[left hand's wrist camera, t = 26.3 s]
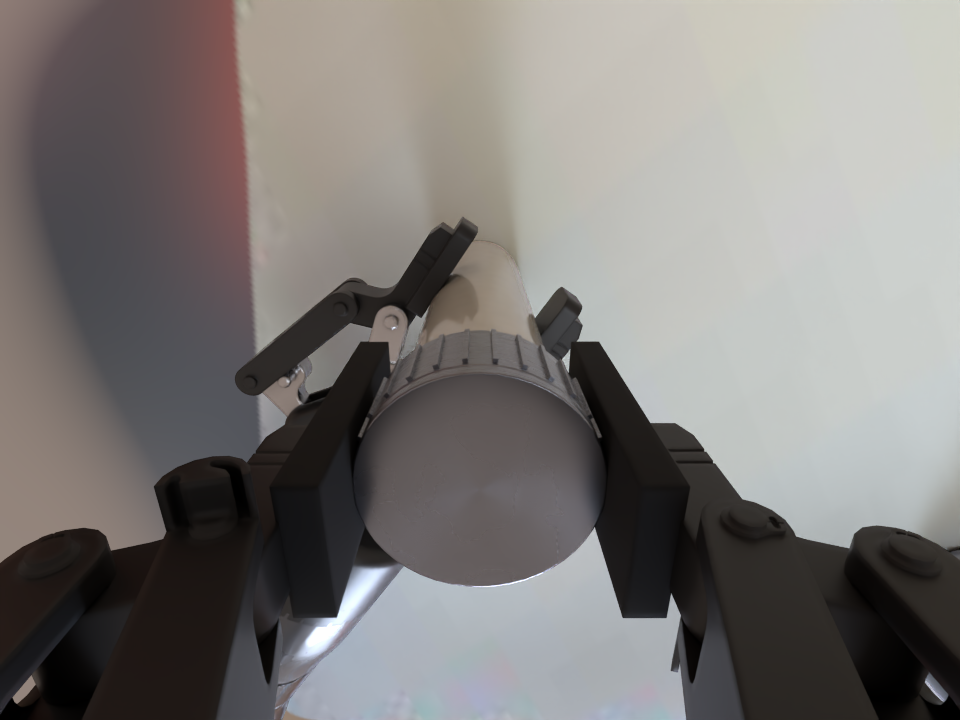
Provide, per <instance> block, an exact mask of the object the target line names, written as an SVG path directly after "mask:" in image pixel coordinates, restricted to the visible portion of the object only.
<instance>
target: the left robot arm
mask: <svg viewBox="0 0 960 720" xmlns="http://www.w3.org/2000/svg"><path fill="white" fill-rule="evenodd" d="M390 374H391V369H390V355H389V342H360V344H359V345H358V347H357V348H356V350H355V352H354V353H353V355H352V356H351V358H350V360H349V361H348V363H347V364H346V366H345V367H344V369H343V371H342V372H341V374H340V375H339V377H338V379H337V380H336V382H335V383H334V385H333V386H332V388H331V390H330V391H329V393H328V394H327V396H326V398H325V399H324V401H323V402H322V404H321V405H320V407H319V409H318V410H317V412H316V413H315V415H314V417H313V418H312V420H311V421H310V423H309V424H308V425H284V426H282V427H281V428H279V429H278V430H276V431H275V432H273V433H272V434H270V435H269V436H267V437H266V438H265V439H264V441H263V442H262V443H261V445H260V446H259V447H258V449H257V450H256V454H253V455H252V457H251V458H250V459H249V461H248V462H247V463H246V462H245V461H244V460H243V459H240V458H236V457H231V456H213V457H208V458H203V459H199V460H194V461H192V462H189V463H187V464H184V465H182V466H179V467H177V468H175V469H174V470H172V471H170V472H169V473H167V474H166V475H164V476H163V477H162V478H161V479H160V480H159V481H158V482H157V483H156V485H155V486H154V489H155V492H156V496H157V499H158V503H159V507H160V510H161V514H162V517H163V521H164V524H165V528H166V531H167V532H166V534H165V536H164V539H162V540H158V541H155V542H151V543H146V544H141V545H136V546H132V547H127V548H122V549H117V550H113V551H111V550H110V547H109V544H108V541H107V538H106V536H105V535H104V534H102V533H101V532H100V531H99V530H95V529H88V528H79V529H71V530H64V531H60V532H56V533H54V534H50V535H47V536H44V537H41V538H40V539H38V540H36V541H34V542H32V543H30V544H28V545H26V546H23V547H22V548H20V549H19V550H17V551H16V552H15V553H13V554H12V555H10V556H9V557H7V558H6V559H5V560H4V561H2V562H1V563H0V720H274V713H275V704H276V695H277V686H278V677H279V669H280V660H281V651H282V642H283V636H282V629H281V623H280V618H279V616H280V614H281V611H282V609H283V607H284V604H285V602H286V600H287V597H288V595H289V598H290V603H291V609H292V614H293V618H337V616H338V613H339V609H340V606H341V603H342V600H343V596H344V593H345V590H346V587H347V583H348V580H349V577H350V574H351V570H352V567H353V564H354V561H355V557H356V554H357V551H358V548H359V544H360V541H361V538H362V535H363V531H364V528H365V526H364V524H363V522H362V520H361V518H360V516H359V513H358V510H357V507H356V504H355V499H354V491H353V481H352V470H353V462H354V458H355V454H356V451H357V447H358V445H359V442H360V441H357V437H358V435H359V432H360V430H361V428H362V425H363V423H364V421H365V418H366V416H367V414H368V411H369V409H370V407H371V405H372V402H373V400H374V398H375V396H376V394H377V392H378V389H379V387H380V385H381V382H382V380H383V378H384V377H386V378H388V377H389V375H390ZM569 374H570V376H571V377H572V379H573V378H575V377H576V379H577V380H578V383H579V385H580V387H581V390H582V392H583V394H584V397H585V398H586V401H587V403H588V405H589V408H590V410H591V412H592V415H593V417H594V419H595V421H596V424H597V426H598V428H599V431H600V433H601V435H602V438H603V441H602V442H600V443H601V445H602V448H603V452H604V455H605V459H606V464H607V472H608V478H607V488H606V496H605V504H604V506H603V509H602V512H601V515H600V517H599V519H598V521H597V523H596V525H595V529H596V532H597V536H598V539H599V542H600V545H601V549H602V552H603V555H604V558H605V562H606V565H607V568H608V571H609V575H610V578H611V581H612V584H613V588H614V591H615V594H616V597H617V601H618V604H619V607H620V610H621V614H622V617H623V618H667V612H668V607H669V601H670V596H671V593H672V596H673V598H674V600H675V602H676V605H677V607H678V609H679V612H680V614H681V618H680V623H679V629H678V634H677V639H676V644H675V649H674V654H673V659H672V666H671V671H674V672H678V669H679V664H680V667H681V676H682V685H683V694H684V703H685V712H686V720H960V560H959V559H958V558H957V557H955V556H954V555H952V554H951V553H950V552H948V551H947V550H945V549H944V548H942V547H941V546H939V545H938V544H936V543H934V542H932V541H930V540H928V539H925V538H923V537H922V536H920V535H918V534H915V533H912V532H909V531H908V532H907V531H905V530H902V529H898V528H892V527H884V526H870V527H863V528H861V529H860V530H859V531H857V532H856V533H855V534H854V537H853V540H852V543H851V546H850V548H844V547H839V546H834V545H830V544H825V543H820V542H815V541H811V540H806V539H803V538H799V537H796V535H795V533H794V531H793V530H792V528H791V527H790V526H789V524H788V523H787V522H786V520H785V519H783V518H782V517H780V516H779V515H778V514H776V513H775V512H774V511H772V510H770V509H768V508H766V507H764V506H762V505H759V504H757V503H755V502H751V501H747V500H743V499H742V498H741V497H740V496H739V494H738V493H737V492H736V490H735V489H734V488H733V487H732V485H731V484H730V483H729V481H728V480H727V479H726V477H725V476H724V475H723V473H722V472H721V471H720V469H719V468H718V467H717V465H716V464H713V460H712V459H711V458H710V456H709V455H708V454H707V452H704V448H703V447H702V446H701V444H700V443H699V442H698V440H697V439H696V438H695V436H694V435H693V434H691V433H689V432H688V431H686V430H685V429H683V428H682V427H680V426H679V425H677V424H676V423H650V422H649V420H648V419H647V417H646V415H645V414H644V412H643V411H642V409H641V408H640V406H639V404H638V403H637V401H636V400H635V398H634V396H633V395H632V393H631V392H630V390H629V389H628V387H627V385H626V384H625V382H624V381H623V379H622V377H621V376H620V374H619V373H618V371H617V370H616V368H615V366H614V365H613V363H612V362H611V360H610V358H609V357H608V355H607V354H606V352H605V351H604V349H603V347H602V346H601V344H600V343H599V342H571V350H570V365H569ZM929 672H930V674H931V675H932V676H933V677H934V678H935V679H936V681H937V682H938V683H939V684H940V685H941V687H942V688H943V689H944V690H945V691H946V692H947V694H948V697H947V699H946V701H945V702H943V701H941V700H940V699H939V698H938V697H937V696H936V695H935V694H934V693H933V692H932V691H931V690H930V688H929V687H928V686H927V685H926V684H925V680H926V678H927V676H928V674H929ZM31 675H32V677H33V679H34V681H35V683H36V685H35V686H34V688H33V689H32V690H31V691H30V692H29V694H28V695H27V696H26V697H25V698H24V699H22V700H21V701H20V702H19V703H18V704H16V703H15V702H14V700H13V698H12V697H13V696H14V695H15V694H16V692H17V691H18V690H19V689H20V688H21V687H22V685H23V684H24V683H25V682H26V681H27V680H28V678H29V677H30V676H31Z"/></svg>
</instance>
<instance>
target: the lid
mask: <svg viewBox="0 0 960 720" xmlns="http://www.w3.org/2000/svg"><path fill="white" fill-rule="evenodd" d="M357 441H360V442H359V445H358V447H357V451H356V454H355V458H354V462H353V470H352V481H353V491H354V499H355V504H356V507H357V510H358V513H359V516H360V518H361V520H362V522H363V524H364V526H365V527H366V529H367V531H368V532H369V533H370V535H371V536H372V538H373V539H374V540H375V541H376V543H377V544H378V545H379V546H380V547H381V548H382V549H383V550H384V551H385V552H386V553H387V554H389V555H390V556H391V557H392V558H393V559H395V560H396V561H397V562H399V563H400V564H402V565H404V566H405V567H407V568H408V569H410V570H412V571H414V572H416V573H418V574H420V575H423V576H425V577H428V578H431V579H433V580H437V581H440V582H444V583H448V584H454V585H460V586H472V587H488V586H499V585H506V584H511V583H515V582H519V581H523V580H526V579H529V578H532V577H534V576H537V575H539V574H541V573H543V572H545V571H547V570H549V569H551V568H553V567H555V566H556V565H558V564H559V563H561V562H562V561H564V560H565V559H566V558H568V557H569V556H570V555H571V554H572V553H574V552H575V551H576V550H577V549H578V548H579V547H580V545H581V544H582V543H583V542H584V541H585V540H586V539H587V537H588V536H589V534H590V533H591V532H592V530H593V529H594V527H595V525H596V523H597V521H598V519H599V517H600V515H601V512H602V509H603V506H604V504H605V496H606V488H607V478H608V472H607V464H606V459H605V455H604V452H603V448H602V445H601V443H600V442H602V441H603V438H602V435H601V433H600V431H599V428H598V426H597V424H596V421H595V419H594V417H593V415H592V412H591V410H590V408H589V405H588V403H587V401H586V398H585V397H584V394H583V392H582V390H581V387H580V385H579V383H578V380H577V379H576V377H575V378H573V379H572V377H571V376H570V374H569V373H568V371H567V370H566V367H565V365H564V362H563V361H562V360H561V359H560V360H559V361H558V360H557V359H555V358H554V357H553V356H552V355H551V354H550V353H549V352H547V351H546V350H545V347H544V346H543V345H541V344H540V346H538V345H536V344H534V343H532V342H530V341H528V340H526V339H524V338H522V336H521V335H519V334H517V335H516V336H514V335H511V334H507V333H502V332H497V331H496V329H491V331H486V330H474V331H470V329H465V330H464V331H463V332H457V333H452V334H448V335H445V336H444V334H440V335H439V337H438V338H436V339H434V340H432V341H430V342H428V343H426V344H424V345H422V346H421V345H420V344H419V345H417V346H416V348H415V350H414V351H413V352H411V353H410V354H409V355H408V356H407V357H405V358H404V359H403V360H401V359H399V360H398V361H397V362H396V365H395V367H394V370H393V371H392V372H391V374H390V375H389V377H388V378H386V377H384V378H383V380H382V382H381V385H380V387H379V389H378V392H377V394H376V396H375V398H374V400H373V402H372V405H371V407H370V409H369V411H368V414H367V416H366V418H365V421H364V423H363V425H362V428H361V430H360V432H359V435H358V437H357Z"/></svg>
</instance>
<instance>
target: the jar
mask: <svg viewBox="0 0 960 720" xmlns="http://www.w3.org/2000/svg"><path fill="white" fill-rule="evenodd" d="M465 329H470V331H474V330H486V331H491V329H496V331H497V332H502V333H507V334H511V335H514V336H516V335H517V334H519V335H521V336H522V338H524V339H526V340H528V341H530V342H532V343H534V344H536V345H538V346H540V344H541V345H543V342H542V339H541V336H540V333H539V330H538V327H537V324H536V321H535V318H534V315H533V312H532V309H531V306H530V303H529V300H528V297H527V294H526V291H525V288H524V285H523V282H522V279H521V276H520V273H519V270H518V267H517V265H516V262H515V261H514V259H513V257H512V256H511V255H510V254H509V253H508V252H507V251H506V250H505V249H504V248H502V247H501V246H499V245H497V244H494V243H492V242H488V241H472V243H471V244H470V246H469V247H468V249H467V250H466V252H465V253H464V255H463V256H462V258H461V259H460V261H459V262H458V264H457V265H456V267H455V268H454V270H453V271H452V273H451V274H450V276H449V277H448V279H447V280H446V282H445V283H444V285H443V286H442V288H441V289H440V291H439V292H438V294H437V295H436V296H435V298H434V299H433V300H432V302H431V304H430V306H429V308H428V311H427V314H426V317H425V320H424V323H423V326H422V329H421V332H420V335H419V338H418V341H417V344H416V346H417V345H419V344H420V345H421V346H422V345H424V344H426V343H428V342H430V341H432V340H434V339H436V338H438V337H439V335H440V334H444V336H445V335H448V334H452V333H457V332H463V331H464V330H465ZM543 346H544V345H543ZM415 348H416V347H415Z"/></svg>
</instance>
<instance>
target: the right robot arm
mask: <svg viewBox="0 0 960 720" xmlns="http://www.w3.org/2000/svg"><path fill="white" fill-rule="evenodd" d="M477 233H478V227H477V226H475V225H474V224H473V223H471V222H470V221H468V220H467V219H465V218H464V217H462V218H461V220H460V221H459V223H458V224H457V226H456V227H455V229H452V228H451V227H449V226H448V225H446V224H445V223H444V222H443V223H441V224H440V225H439V226H437V227H436V228H434V229H433V230H432V231H431V232H430V234H429V235H428V237H427V238H426V240H425V242H424V243H423V245H422V246H421V248H420V249H419V251H418V253H417V254H416V256H415V257H414V259H413V260H412V262H411V264H410V265H409V267H408V268H407V270H406V271H405V273H404V275H403V276H402V278H401V279H400V281H399V282H398V283H397V284H396V285H394V286H393V287H390V288H377V287H373V286H369V285H367V284H366V283H365V282H364V281H363V280H361V279H358V278H350V279H347V280H346V281H345V282H343V283H342V284H341V285H340V286H339V287H337V288H336V289H335V290H334V291H332V292H331V293H330V294H329V295H328V296H326V297H325V298H324V299H323V300H322V301H320V302H319V303H318V304H317V305H315V306H314V307H313V308H312V309H311V310H309V311H308V312H307V313H306V314H305V315H303V316H302V317H301V318H300V319H298V320H297V321H296V322H295V323H294V324H292V325H291V326H290V327H289V328H288V329H286V330H285V331H284V332H283V333H281V334H280V335H279V336H278V337H277V338H275V339H274V340H273V341H272V342H270V343H269V344H268V345H267V346H266V347H264V348H263V349H262V350H261V351H260V352H259V353H258V354H257V355H255V356H254V357H253V358H252V359H251V360H250V361H249V362H248V363H247V364H245V365H244V366H243V367H242V368H241V369H240V370H239V371H238V372H237V373H236V376H235V382H236V385H237V387H238V388H239V389H240V390H241V391H242V392H243V393H245V394H248V395H253V396H254V395H259V394H261V393H262V392H263V393H264V394H265V395H266V396H267V397H268V398H269V399H270V400H271V401H272V402H273V403H274V404H275V405H276V406H277V407H278V408H279V409H280V410H281V411H282V412H283V413H284V414H285V415H286V416H287V419H286V422H285V425H308V424H309V423H310V421H311V420H312V418H313V417H314V415H315V413H316V412H317V410H318V409H319V407H320V405H321V404H322V402H323V401H324V399H325V398H326V396H327V394H328V393H329V391H330V390H331V388H332V387H329V388H326V389H323V390H320V391H317V392H314V393H311V394H308V393H307V391H306V389H305V380H306V379H307V377H308V376H309V375H310V373H311V371H312V364H311V362H310V360H309V359H308V356H309V355H310V354H311V353H313V352H314V351H315V350H316V349H318V348H319V347H320V346H322V345H323V344H324V343H325V342H327V341H328V340H329V339H330V338H332V337H333V336H334V335H335V334H337V333H338V332H339V331H340V330H342V329H343V328H344V327H345V326H347V325H348V324H349V323H353V324H357V325H361V326H365V327H370V328H372V332H371V335H370V339H369V342H389V355H390V369H391V372H392V371H393V370H394V367H395V365H396V362H397V361H398V360H399V359H400V357H401V354H402V351H403V347H404V343H405V339H406V336H407V333H408V329H409V326H410V324H411V322H412V321H413V319H414V318H415V316H416V315H417V316H419V317H420V318H422V316H423V315H424V313H425V312H426V310H427V309H428V307H429V306H430V304H431V302H432V300H433V299H434V298H435V296H436V295H437V294H438V292H439V291H440V289H441V288H442V286H443V285H444V283H445V282H446V280H447V279H448V277H449V276H450V274H451V273H452V271H453V270H454V268H455V267H456V265H457V264H458V262H459V261H460V259H461V258H462V256H463V255H464V253H465V252H466V250H467V249H468V247H469V246H470V244H471V243H472V241H473V240H474V238H475V236H476V235H477ZM581 310H582V305H581V303H580V302H579V300H578V299H577V297H576V296H574V295H573V294H571V293H570V292H569V291H567V290H566V289H564V288H563V287H560V288H559V289H558V290H557V291H556V292H555V293H554V294H553V295H552V297H551V298H550V299H549V301H548V302H547V303H546V305H545V306H544V307H543V309H542V310H541V311H540V313H539V314H538V315H537V317H536V318H535V321H536V324H537V327H538V330H539V333H540V336H541V339H542V342H543V345H544V347H545V350H546V351H547V352H549V353H550V354H551V355H552V356H553V357H554V358H555V359H557V360H558V361H559V360H560V359H561V360H562V358H563V357H564V356H565V355H566V354H567V352H568V351H569V349H571V342H576V341H577V340H578V339H579V336H580V333H581V329H582V326H583V325H582V324H581V322H580V320H579V319H578V316H579V314H580V312H581ZM950 553H951V554H952V555H954V556H955V557H957V558H958V559H959V560H960V550H956V551H952V552H950ZM403 566H404V565H402V564H400V563H399V562H397V561H396V560H395V559H393V558H392V557H391V556H390V555H389V554H387V553H386V552H385V551H384V550H383V549H382V548H381V547H380V546H379V545H378V544H377V543H376V541H375V540H374V539H373V538H372V536H371V535H370V533H369V532H368V531H367V529H366V527H365V528H364V531H363V535H362V538H361V541H360V544H359V548H358V551H357V554H356V557H355V561H354V564H353V567H352V570H351V574H350V577H349V580H348V583H347V587H346V590H345V593H344V596H343V600H342V603H341V606H340V609H339V613H338V616H337V618H293V614H292V609H291V603H290V598H289V595H288V597H287V600H286V602H285V604H284V607H283V609H282V611H281V614H280V616H279V618H280V623H281V629H282V636H283V642H282V651H281V660H280V669H279V677H278V686H277V695H276V704H275V713H274V720H282V719H283V717H284V714H285V711H286V708H287V705H288V702H289V700H290V698H291V696H292V695H293V694H294V693H295V692H296V690H297V689H298V688H299V687H300V685H301V684H302V683H303V682H304V680H305V679H306V678H307V677H308V675H309V674H310V673H311V672H312V671H313V669H314V668H315V667H316V665H317V664H318V663H319V662H320V661H321V660H322V659H323V658H324V657H326V656H327V655H328V654H329V653H330V652H332V651H333V650H334V649H335V648H336V647H337V646H338V645H339V644H340V643H341V642H342V641H343V640H344V639H345V637H346V636H347V635H348V634H349V633H350V632H351V630H352V629H353V628H354V627H355V626H356V624H357V623H358V622H359V621H360V619H361V618H362V617H363V616H364V614H365V613H366V612H367V611H368V610H369V608H370V607H371V606H372V605H373V603H374V602H375V601H376V600H377V598H378V597H379V596H380V595H381V593H382V592H383V591H384V590H385V589H386V587H387V586H388V585H389V584H390V582H391V581H392V580H393V579H394V578H395V576H396V575H397V574H398V573H399V571H400V570H401V569H402V568H403ZM926 681H927V682H928V683H929V684H930V686H931V687H932V688H933V689H934V691H935V692H936V693H937V694H938V696H939V697H940V698H941V699H942V700H943V701H944V702H945V701H946V699H947V697H948V694H947V692H946V691H945V690H944V689H943V688H942V687H941V685H940V684H939V683H938V682H937V681H936V679H935V678H934V677H933V676H932V675H931V674H930V672H929V674H928V676H927V678H926Z"/></svg>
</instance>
